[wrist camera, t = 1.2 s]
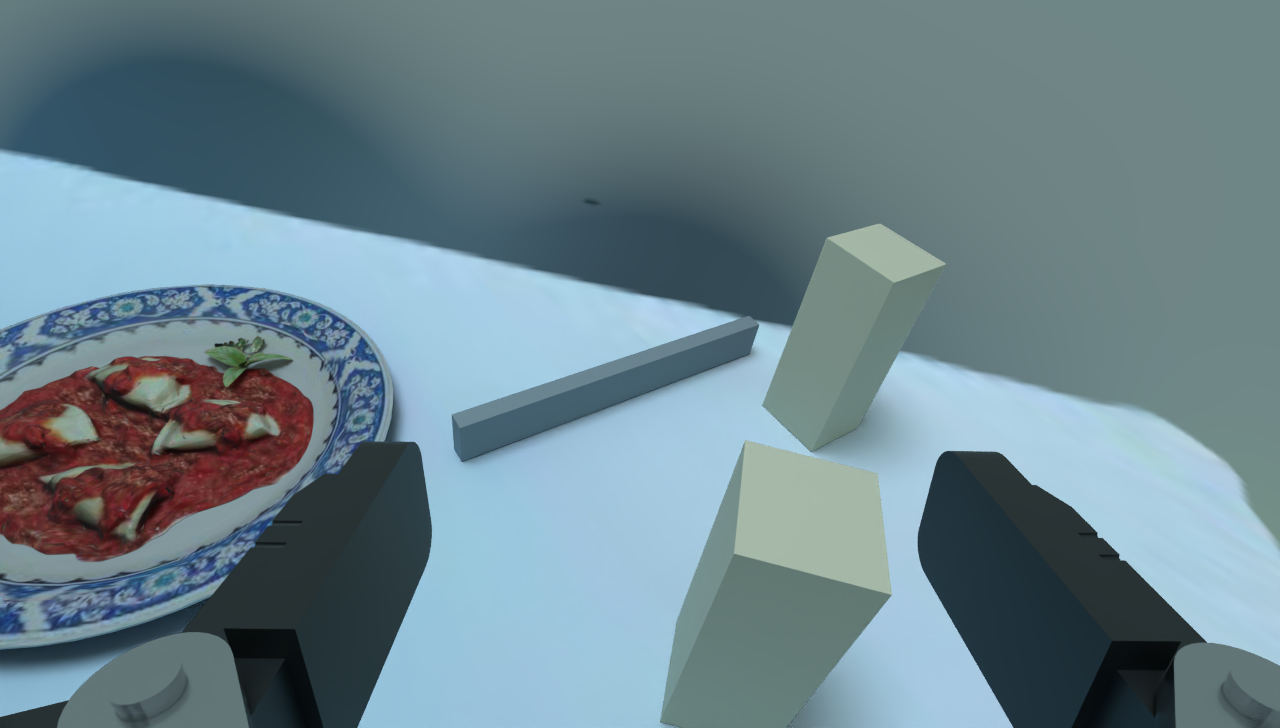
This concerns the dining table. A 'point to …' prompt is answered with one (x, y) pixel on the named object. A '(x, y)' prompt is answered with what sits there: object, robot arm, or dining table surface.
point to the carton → (777, 591)
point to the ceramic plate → (164, 446)
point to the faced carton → (849, 331)
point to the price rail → (597, 388)
